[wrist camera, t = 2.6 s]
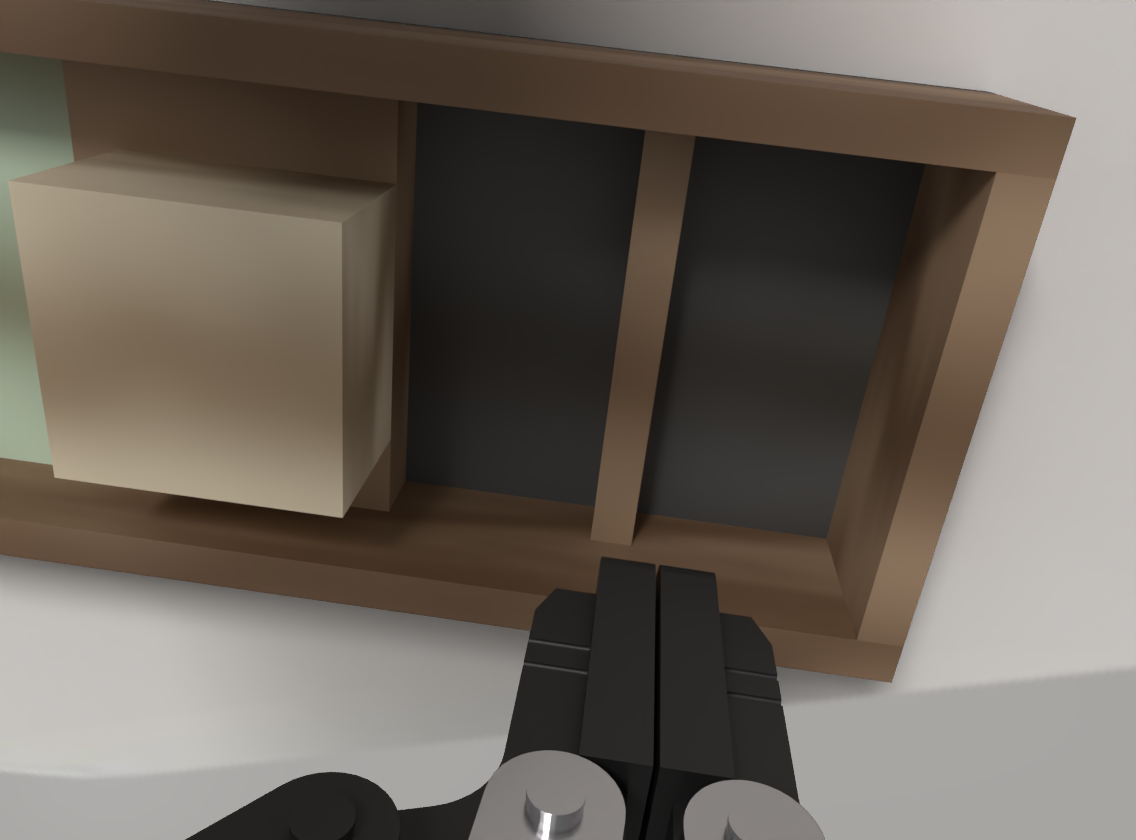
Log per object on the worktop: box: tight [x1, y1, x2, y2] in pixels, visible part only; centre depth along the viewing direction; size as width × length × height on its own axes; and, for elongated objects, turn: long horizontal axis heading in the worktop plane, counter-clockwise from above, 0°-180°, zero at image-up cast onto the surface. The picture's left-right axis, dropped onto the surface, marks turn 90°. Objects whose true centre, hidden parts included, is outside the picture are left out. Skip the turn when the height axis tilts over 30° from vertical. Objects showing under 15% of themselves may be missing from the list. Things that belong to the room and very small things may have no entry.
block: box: [8, 150, 396, 518], centre depth 19 cm, size 6×6×4 cm
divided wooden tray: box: [0, 0, 1076, 683], centre depth 20 cm, size 12×26×4 cm, turn 84°
